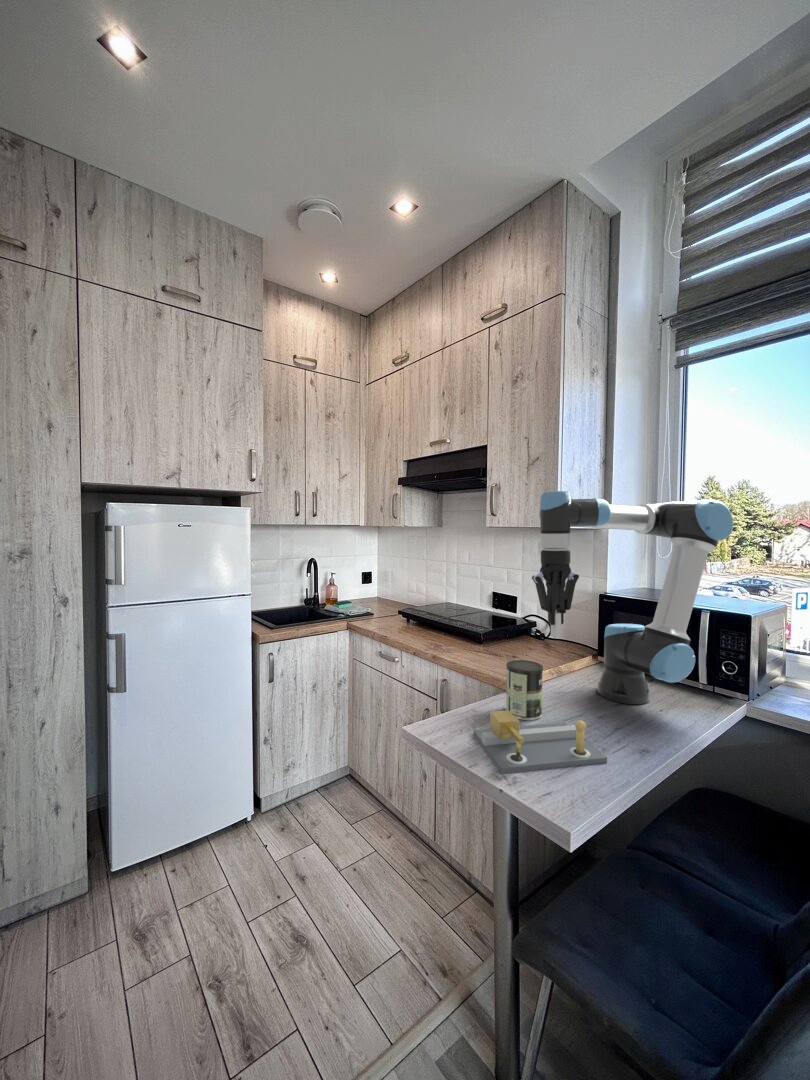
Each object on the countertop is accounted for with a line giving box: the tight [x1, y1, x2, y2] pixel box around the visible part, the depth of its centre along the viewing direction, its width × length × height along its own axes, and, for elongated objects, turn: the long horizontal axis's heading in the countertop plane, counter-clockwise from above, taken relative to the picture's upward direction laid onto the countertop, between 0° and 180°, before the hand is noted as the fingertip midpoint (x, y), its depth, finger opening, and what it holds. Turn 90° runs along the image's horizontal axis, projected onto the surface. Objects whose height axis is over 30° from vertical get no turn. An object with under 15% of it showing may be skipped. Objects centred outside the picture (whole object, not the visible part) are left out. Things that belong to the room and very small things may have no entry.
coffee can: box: [505, 659, 544, 721], centre depth 125 cm, size 10×10×14 cm
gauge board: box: [472, 719, 608, 774], centre depth 106 cm, size 26×18×9 cm
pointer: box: [489, 709, 524, 756], centre depth 103 cm, size 5×12×6 cm, turn 11°
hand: (555, 636), depth 116 cm, fingers closed
